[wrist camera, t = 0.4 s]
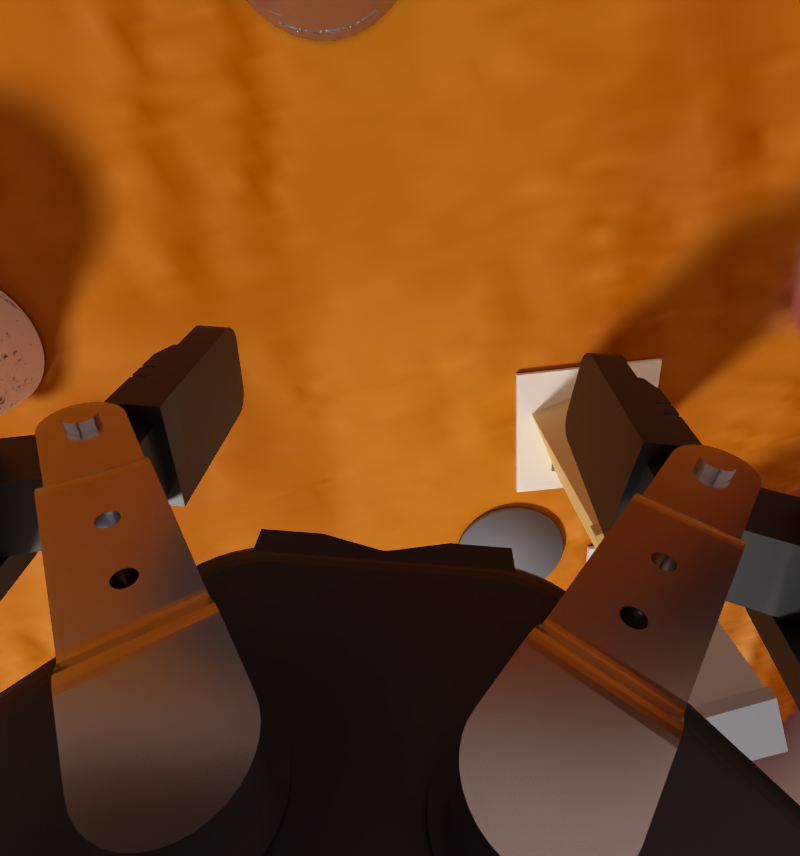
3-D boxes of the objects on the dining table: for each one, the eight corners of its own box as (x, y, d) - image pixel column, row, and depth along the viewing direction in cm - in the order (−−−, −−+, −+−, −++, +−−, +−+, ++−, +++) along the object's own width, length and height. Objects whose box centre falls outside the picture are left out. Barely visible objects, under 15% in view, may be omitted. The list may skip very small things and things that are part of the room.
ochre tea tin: (529, 413, 33) (595, 535, 22) (616, 376, 32) (730, 486, 21) (556, 479, 36) (628, 617, 25) (637, 447, 34) (749, 577, 24)
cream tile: (515, 373, 32) (517, 375, 32) (659, 358, 32) (662, 359, 31) (515, 489, 36) (516, 492, 36) (642, 477, 36) (644, 479, 36)
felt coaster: (454, 512, 37) (455, 516, 37) (564, 501, 37) (565, 505, 36) (460, 591, 41) (460, 595, 41) (559, 582, 41) (560, 585, 40)
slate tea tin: (596, 574, 40) (672, 727, 29) (670, 549, 39) (776, 698, 28) (615, 620, 42) (691, 776, 32) (685, 597, 41) (788, 751, 31)
